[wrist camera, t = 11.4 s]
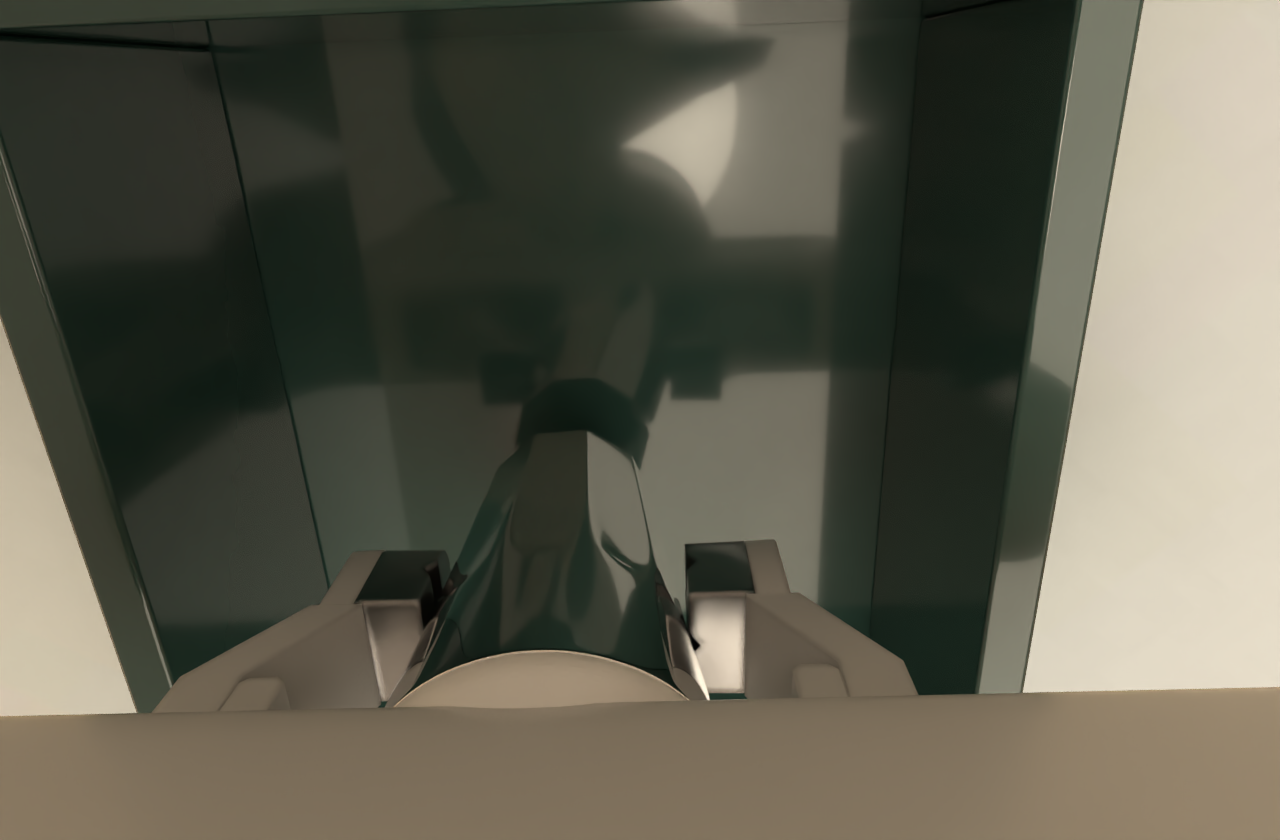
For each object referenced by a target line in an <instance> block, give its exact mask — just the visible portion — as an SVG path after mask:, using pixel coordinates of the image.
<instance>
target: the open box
mask: <svg viewBox="0 0 1280 840" xmlns="http://www.w3.org/2000/svg"><path fill="white" fill-rule="evenodd" d="M1143 2H1144V0H0V319H1V322H2V324H3V327H4V330H5V333H6V336H7V339H8V342H9V345H10V348H11V351H12V353H13V356H14V359H15V362H16V365H17V368H18V371H19V374H20V377H21V379H22V382H23V385H24V388H25V391H26V394H27V397H28V400H29V403H30V405H31V408H32V411H33V414H34V417H35V420H36V423H37V426H38V429H39V431H40V434H41V437H42V440H43V443H44V446H45V449H46V452H47V455H48V457H49V460H50V463H51V466H52V469H53V472H54V475H55V478H56V481H57V483H58V486H59V489H60V492H61V495H62V498H63V501H64V504H65V507H66V509H67V512H68V515H69V518H70V521H71V524H72V527H73V530H74V533H75V535H76V538H77V541H78V544H79V547H80V550H81V553H82V556H83V559H84V561H85V564H86V567H87V570H88V573H89V576H90V579H91V582H92V585H93V587H94V590H95V593H96V596H97V599H98V602H99V605H100V608H101V611H102V613H103V616H104V619H105V622H106V625H107V628H108V631H109V634H110V637H111V639H112V642H113V645H114V648H115V651H116V654H117V657H118V660H119V663H120V665H121V668H122V671H123V674H124V677H125V680H126V683H127V686H128V689H129V691H130V694H131V697H132V700H133V703H134V706H135V709H136V712H137V713H152V712H153V710H154V709H155V708H156V706H157V705H158V704H159V703H160V701H161V700H162V699H163V698H164V696H165V695H166V694H167V693H168V691H169V690H170V689H171V687H172V686H173V685H174V684H175V682H176V681H177V680H178V679H179V677H180V676H182V675H184V674H186V673H188V672H190V671H191V670H193V669H195V668H197V667H199V666H200V665H202V664H204V663H206V662H208V661H210V660H211V659H213V658H215V657H217V656H219V655H220V654H222V653H224V652H226V651H228V650H230V649H231V648H233V647H235V646H237V645H239V644H240V643H242V642H244V641H246V640H248V639H250V638H251V637H253V636H255V635H257V634H259V633H260V632H262V631H264V630H266V629H268V628H270V627H271V626H273V625H275V624H277V623H279V622H280V621H282V620H284V619H286V618H288V617H290V616H291V615H293V614H295V613H297V612H299V611H300V610H302V609H304V608H306V607H308V606H310V605H319V604H320V602H321V601H322V599H323V598H324V596H325V595H326V593H327V591H328V590H329V588H330V587H331V585H332V583H333V582H334V580H335V579H336V577H337V576H338V574H339V572H340V571H341V569H342V568H343V566H344V564H345V563H346V561H347V560H348V558H349V557H350V555H351V554H352V553H353V552H356V551H370V550H385V551H387V550H445V551H446V553H447V554H448V557H449V562H450V568H451V570H452V568H453V566H454V564H455V561H456V559H457V557H458V555H459V553H460V550H461V548H462V546H463V544H464V541H465V539H466V537H467V535H468V533H469V530H470V528H471V526H472V524H473V521H474V519H475V517H476V515H477V513H478V510H479V508H480V506H481V504H482V502H483V499H484V497H485V495H486V493H487V490H488V488H489V486H490V484H491V482H492V479H493V477H494V475H495V473H496V471H497V469H498V467H499V465H500V464H501V463H502V462H503V461H505V460H506V459H507V458H508V457H509V456H511V455H512V454H513V453H514V452H515V451H517V450H518V449H519V448H520V447H521V446H522V445H524V444H525V443H526V442H527V441H528V440H530V439H531V438H532V437H533V436H534V435H535V434H537V433H548V432H559V431H570V430H580V429H588V430H590V431H592V432H594V433H596V434H598V435H599V436H601V437H603V438H605V439H607V440H609V441H611V442H613V443H614V444H616V445H618V446H620V447H622V448H624V449H626V450H628V451H630V452H631V454H632V456H633V458H634V460H635V462H636V465H637V467H638V469H639V471H640V473H641V475H642V477H643V480H644V482H645V484H646V486H647V488H648V490H649V492H650V494H651V497H652V501H653V504H654V508H655V512H656V515H657V519H658V523H659V527H660V530H661V534H662V538H663V541H664V545H665V549H666V552H667V556H668V560H669V564H670V567H671V571H672V575H673V578H674V582H675V586H676V589H677V593H678V597H679V600H680V604H681V608H682V612H683V615H684V619H685V623H686V605H685V589H686V582H685V563H684V544H693V543H713V542H732V541H753V540H767V539H774V540H775V541H776V543H777V546H778V550H779V553H780V557H781V560H782V564H783V567H784V571H785V574H786V578H787V581H788V585H789V588H790V592H791V593H800V594H802V595H803V596H805V597H806V598H808V599H810V600H811V601H813V602H814V603H816V604H817V605H819V606H820V607H822V608H823V609H825V610H826V611H828V612H830V613H831V614H833V615H834V616H836V617H837V618H839V619H840V620H842V621H843V622H845V623H846V624H848V625H850V626H851V627H853V628H854V629H856V630H857V631H859V632H860V633H862V634H863V635H865V636H866V637H868V638H870V639H871V640H873V641H874V642H876V643H877V644H879V645H880V646H882V647H883V648H885V649H887V650H888V651H890V652H891V653H893V654H894V655H896V656H897V657H899V658H900V659H902V660H903V661H904V663H905V666H906V668H907V670H908V672H909V675H910V677H911V679H912V681H913V684H914V686H915V688H916V691H917V693H918V695H951V694H995V693H1023V687H1024V681H1025V675H1026V670H1027V664H1028V658H1029V653H1030V647H1031V641H1032V635H1033V630H1034V624H1035V618H1036V613H1037V607H1038V601H1039V596H1040V590H1041V584H1042V578H1043V573H1044V567H1045V561H1046V556H1047V550H1048V544H1049V538H1050V533H1051V527H1052V521H1053V516H1054V510H1055V504H1056V498H1057V493H1058V487H1059V481H1060V476H1061V470H1062V464H1063V459H1064V453H1065V447H1066V441H1067V436H1068V430H1069V424H1070V419H1071V413H1072V407H1073V401H1074V396H1075V390H1076V384H1077V379H1078V373H1079V367H1080V362H1081V356H1082V350H1083V344H1084V339H1085V333H1086V327H1087V322H1088V316H1089V310H1090V304H1091V299H1092V293H1093V287H1094V282H1095V276H1096V270H1097V264H1098V259H1099V253H1100V247H1101V242H1102V236H1103V230H1104V225H1105V219H1106V213H1107V207H1108V202H1109V196H1110V190H1111V185H1112V179H1113V173H1114V167H1115V162H1116V156H1117V150H1118V145H1119V139H1120V133H1121V128H1122V122H1123V116H1124V110H1125V105H1126V99H1127V93H1128V88H1129V82H1130V76H1131V70H1132V65H1133V59H1134V53H1135V48H1136V42H1137V36H1138V30H1139V25H1140V19H1141V13H1142V8H1143ZM709 696H710V699H711V700H734V699H747V697H746V696H745V693H709ZM387 702H388V701H381V705H380V706H379V707H378V708H384V707H385V706H386V704H387Z"/></svg>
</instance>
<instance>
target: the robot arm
mask: <svg viewBox="0 0 1280 840" xmlns="http://www.w3.org/2000/svg"><path fill="white" fill-rule="evenodd" d="M684 563H685V582H686V589H685V605H686V626H687V630H688V633H689V635H690V638H691V641H692V644H693V647H694V650H695V653H696V656H697V659H698V662H699V665H700V668H701V671H702V674H703V677H704V680H705V683H706V686H707V689H708V693H745V696H746V697H747V699H734V700H691V701H648V702H613V703H593V704H585V705H575V706H562V707H542V708H473V707H455V706H429V707H385V708H378V707H379V706H380V705H381V701H388V700H389V698H390V696H391V694H392V692H393V690H394V688H395V686H396V684H397V682H398V680H399V678H400V676H401V674H402V672H403V670H404V668H405V666H406V664H407V662H408V660H409V658H410V656H411V654H412V652H413V650H414V648H415V646H416V644H417V642H418V640H419V638H420V636H421V634H422V632H423V630H424V628H425V626H426V624H427V622H428V620H429V618H430V616H431V614H432V612H433V610H434V608H435V606H436V604H437V602H438V599H439V597H440V595H441V593H442V591H443V588H444V586H445V584H446V582H447V579H448V577H449V575H450V573H451V568H450V562H449V557H448V554H447V553H446V551H445V550H387V551H385V550H370V551H356V552H353V553H352V554H351V555H350V557H349V558H348V560H347V561H346V563H345V564H344V566H343V568H342V569H341V571H340V572H339V574H338V576H337V577H336V579H335V580H334V582H333V583H332V585H331V587H330V588H329V590H328V591H327V593H326V595H325V596H324V598H323V599H322V601H321V602H320V604H319V605H310V606H308V607H306V608H304V609H302V610H300V611H299V612H297V613H295V614H293V615H291V616H290V617H288V618H286V619H284V620H282V621H280V622H279V623H277V624H275V625H273V626H271V627H270V628H268V629H266V630H264V631H262V632H260V633H259V634H257V635H255V636H253V637H251V638H250V639H248V640H246V641H244V642H242V643H240V644H239V645H237V646H235V647H233V648H231V649H230V650H228V651H226V652H224V653H222V654H220V655H219V656H217V657H215V658H213V659H211V660H210V661H208V662H206V663H204V664H202V665H200V666H199V667H197V668H195V669H193V670H191V671H190V672H188V673H186V674H184V675H182V676H180V677H179V679H178V680H177V681H176V682H175V684H174V685H173V686H172V687H171V689H170V690H169V691H168V693H167V694H166V695H165V696H164V698H163V699H162V700H161V701H160V703H159V704H158V705H157V706H156V708H155V709H154V710H153V712H152V713H127V714H84V715H39V716H0V840H1280V687H1261V688H1216V689H1171V690H1126V691H1083V692H1039V693H995V694H951V695H918V693H917V691H916V688H915V686H914V684H913V681H912V679H911V677H910V675H909V672H908V670H907V668H906V666H905V663H904V661H903V660H902V659H900V658H899V657H897V656H896V655H894V654H893V653H891V652H890V651H888V650H887V649H885V648H883V647H882V646H880V645H879V644H877V643H876V642H874V641H873V640H871V639H870V638H868V637H866V636H865V635H863V634H862V633H860V632H859V631H857V630H856V629H854V628H853V627H851V626H850V625H848V624H846V623H845V622H843V621H842V620H840V619H839V618H837V617H836V616H834V615H833V614H831V613H830V612H828V611H826V610H825V609H823V608H822V607H820V606H819V605H817V604H816V603H814V602H813V601H811V600H810V599H808V598H806V597H805V596H803V595H802V594H800V593H791V592H790V588H789V585H788V581H787V578H786V574H785V571H784V567H783V564H782V560H781V557H780V553H779V550H778V546H777V543H776V541H775V540H774V539H767V540H753V541H732V542H713V543H693V544H684Z"/></svg>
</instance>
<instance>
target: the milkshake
mask: <svg viewBox="0 0 1280 840" xmlns="http://www.w3.org/2000/svg"><path fill="white" fill-rule="evenodd" d="M691 700H711V699H710V696H709V693H708V689H707V686H706V683H705V680H704V677H703V674H702V671H701V668H700V665H699V662H698V659H697V656H696V653H695V650H694V647H693V644H692V641H691V638H690V635H689V633H688V630H687V626H686V623H685V619H684V615H683V612H682V608H681V604H680V600H679V597H678V593H677V589H676V586H675V582H674V578H673V575H672V571H671V567H670V564H669V560H668V556H667V552H666V549H665V545H664V541H663V538H662V534H661V530H660V527H659V523H658V519H657V515H656V512H655V508H654V504H653V501H652V497H651V494H650V492H649V490H648V488H647V486H646V484H645V482H644V480H643V477H642V475H641V473H640V471H639V469H638V467H637V465H636V462H635V460H634V458H633V456H632V454H631V452H630V451H628V450H626V449H624V448H622V447H620V446H618V445H616V444H614V443H613V442H611V441H609V440H607V439H605V438H603V437H601V436H599V435H598V434H596V433H594V432H592V431H590V430H588V429H580V430H570V431H559V432H548V433H537V434H535V435H534V436H533V437H532V438H531V439H530V440H528V441H527V442H526V443H525V444H524V445H522V446H521V447H520V448H519V449H518V450H517V451H515V452H514V453H513V454H512V455H511V456H509V457H508V458H507V459H506V460H505V461H503V462H502V463H501V464H500V465H499V467H498V469H497V471H496V473H495V475H494V477H493V479H492V482H491V484H490V486H489V488H488V490H487V493H486V495H485V497H484V499H483V502H482V504H481V506H480V508H479V510H478V513H477V515H476V517H475V519H474V521H473V524H472V526H471V528H470V530H469V533H468V535H467V537H466V539H465V541H464V544H463V546H462V548H461V550H460V553H459V555H458V557H457V559H456V561H455V564H454V566H453V568H452V570H451V573H450V575H449V577H448V579H447V582H446V584H445V586H444V588H443V591H442V593H441V595H440V597H439V599H438V602H437V604H436V606H435V608H434V610H433V612H432V614H431V616H430V618H429V620H428V622H427V624H426V626H425V628H424V630H423V632H422V634H421V636H420V638H419V640H418V642H417V644H416V646H415V648H414V650H413V652H412V654H411V656H410V658H409V660H408V662H407V664H406V666H405V668H404V670H403V672H402V674H401V676H400V678H399V680H398V682H397V684H396V686H395V688H394V690H393V692H392V694H391V696H390V698H389V700H388V702H387V704H386V706H385V707H429V706H455V707H473V708H542V707H562V706H575V705H585V704H593V703H613V702H648V701H691ZM385 707H384V708H385Z"/></svg>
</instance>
